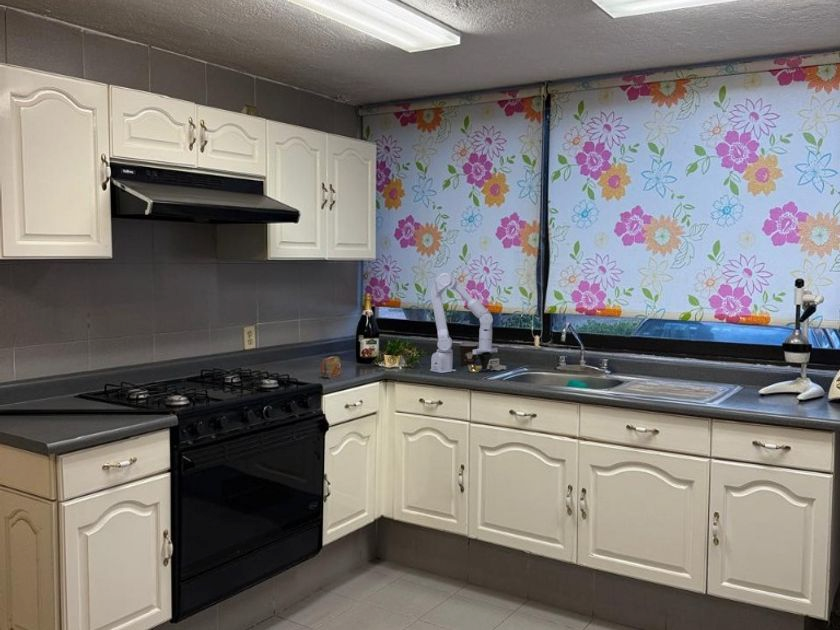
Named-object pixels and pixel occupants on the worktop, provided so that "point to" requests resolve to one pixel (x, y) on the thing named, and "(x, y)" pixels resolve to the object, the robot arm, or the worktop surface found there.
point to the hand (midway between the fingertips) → (484, 369)
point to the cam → (474, 368)
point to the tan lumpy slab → (331, 367)
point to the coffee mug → (467, 354)
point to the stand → (496, 364)
